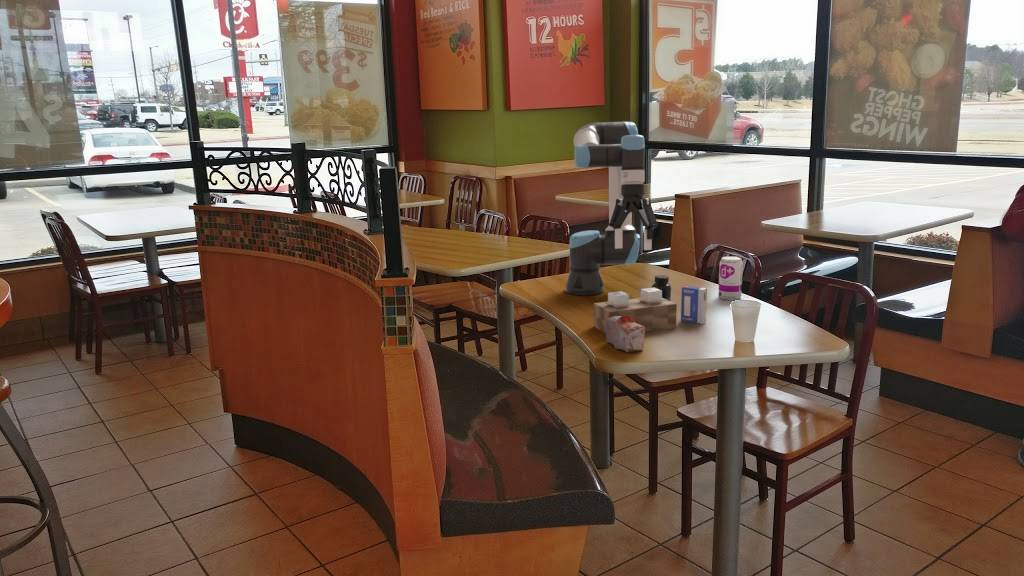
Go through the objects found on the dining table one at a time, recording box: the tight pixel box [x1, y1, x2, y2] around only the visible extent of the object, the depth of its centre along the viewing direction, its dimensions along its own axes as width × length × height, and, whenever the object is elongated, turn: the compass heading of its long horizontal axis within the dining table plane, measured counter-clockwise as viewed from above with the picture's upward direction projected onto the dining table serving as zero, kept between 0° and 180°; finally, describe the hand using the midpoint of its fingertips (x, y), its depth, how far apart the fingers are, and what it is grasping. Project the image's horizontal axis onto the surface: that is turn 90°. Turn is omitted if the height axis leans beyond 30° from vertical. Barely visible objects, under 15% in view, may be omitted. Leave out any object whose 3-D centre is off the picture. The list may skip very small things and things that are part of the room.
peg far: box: [640, 287, 662, 304], centre depth 270 cm, size 5×5×7 cm
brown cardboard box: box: [593, 297, 678, 335], centre depth 269 cm, size 12×24×8 cm, turn 110°
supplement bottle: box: [651, 274, 672, 302], centre depth 289 cm, size 7×7×12 cm
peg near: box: [607, 290, 630, 308], centre depth 266 cm, size 5×5×7 cm
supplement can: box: [717, 255, 744, 301], centre depth 303 cm, size 8×8×15 cm
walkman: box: [680, 285, 708, 325], centre depth 273 cm, size 8×3×12 cm, turn 56°
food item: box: [605, 315, 646, 353], centre depth 248 cm, size 14×8×10 cm, turn 26°
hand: (632, 249), depth 268 cm, fingers open, 13 cm apart
